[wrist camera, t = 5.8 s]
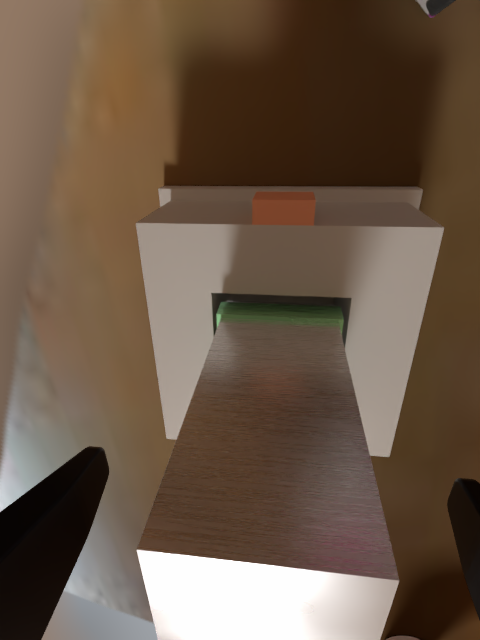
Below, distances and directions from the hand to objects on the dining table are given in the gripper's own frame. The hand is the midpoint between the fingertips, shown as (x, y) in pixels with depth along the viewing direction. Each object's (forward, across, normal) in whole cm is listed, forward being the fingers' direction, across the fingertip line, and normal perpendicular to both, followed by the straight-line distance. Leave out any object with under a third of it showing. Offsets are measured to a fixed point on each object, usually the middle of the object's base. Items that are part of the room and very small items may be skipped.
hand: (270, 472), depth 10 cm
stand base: (+11, 0, 0) cm, 11 cm away
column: (+6, 0, 0) cm, 6 cm away
